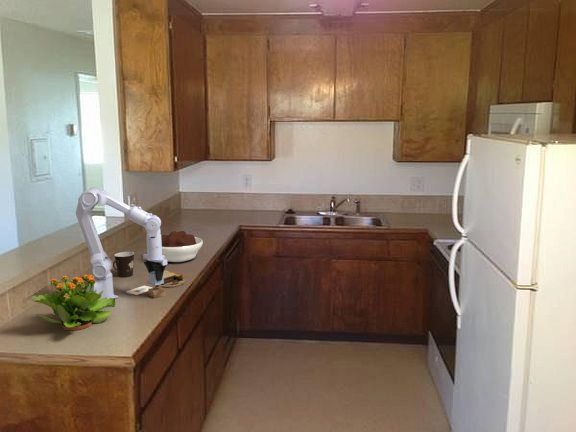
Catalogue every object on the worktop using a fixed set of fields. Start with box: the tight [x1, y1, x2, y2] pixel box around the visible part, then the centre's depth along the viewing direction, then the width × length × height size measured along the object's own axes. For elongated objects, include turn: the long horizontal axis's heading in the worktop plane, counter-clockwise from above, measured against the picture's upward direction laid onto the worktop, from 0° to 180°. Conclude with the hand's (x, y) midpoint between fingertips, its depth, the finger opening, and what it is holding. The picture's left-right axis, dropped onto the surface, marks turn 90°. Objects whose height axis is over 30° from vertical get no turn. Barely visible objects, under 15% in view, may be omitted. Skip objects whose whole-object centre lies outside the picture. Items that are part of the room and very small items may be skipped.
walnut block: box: [147, 286, 167, 299], centre depth 214 cm, size 5×5×3 cm
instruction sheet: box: [125, 285, 153, 296], centre depth 221 cm, size 10×7×1 cm
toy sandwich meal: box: [157, 270, 186, 289], centre depth 229 cm, size 12×14×5 cm
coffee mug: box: [112, 251, 135, 279], centre depth 240 cm, size 12×9×10 cm
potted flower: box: [31, 274, 116, 331], centre depth 181 cm, size 25×24×18 cm
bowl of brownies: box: [161, 230, 204, 263], centre depth 266 cm, size 25×25×15 cm
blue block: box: [148, 271, 164, 286], centre depth 213 cm, size 4×4×4 cm
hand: (156, 279), depth 213 cm, fingers closed on blue block, 4 cm apart
